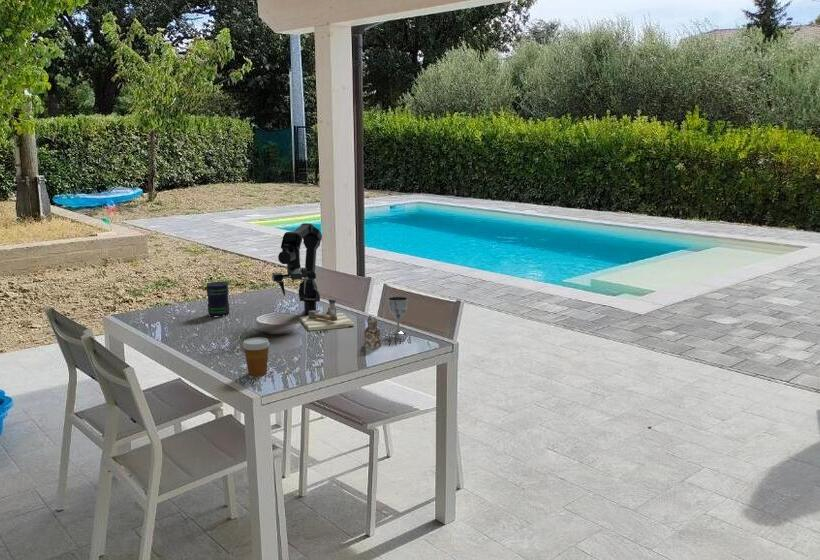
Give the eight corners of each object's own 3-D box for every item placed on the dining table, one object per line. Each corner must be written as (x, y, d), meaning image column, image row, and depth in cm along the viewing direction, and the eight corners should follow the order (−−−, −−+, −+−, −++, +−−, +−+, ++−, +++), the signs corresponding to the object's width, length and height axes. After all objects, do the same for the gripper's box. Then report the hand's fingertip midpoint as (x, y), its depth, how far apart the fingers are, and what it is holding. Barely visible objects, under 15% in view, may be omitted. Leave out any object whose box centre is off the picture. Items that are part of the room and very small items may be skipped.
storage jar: (211, 318, 349) (209, 286, 346) (205, 314, 358) (203, 283, 355) (232, 315, 354) (230, 284, 351) (226, 311, 362) (224, 280, 360)
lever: (307, 317, 342) (306, 296, 340) (312, 315, 344) (312, 294, 342) (332, 322, 331) (331, 301, 329) (338, 321, 334) (337, 299, 332)
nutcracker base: (300, 320, 344) (299, 308, 343) (342, 316, 351) (342, 304, 350) (309, 330, 326) (308, 318, 325) (354, 326, 332) (353, 314, 331)
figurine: (364, 348, 298) (363, 319, 296) (362, 344, 305) (361, 315, 303) (382, 347, 299) (381, 318, 297) (379, 342, 306) (379, 314, 304)
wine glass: (408, 330, 325) (408, 296, 322) (406, 335, 317) (406, 300, 314) (390, 330, 325) (389, 296, 323) (387, 335, 318) (387, 300, 315)
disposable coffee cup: (238, 376, 267) (236, 343, 264) (253, 368, 275) (251, 336, 273) (262, 378, 263) (260, 345, 261) (276, 370, 272) (274, 338, 270)
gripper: (275, 264, 323) (276, 300, 326) (318, 261, 329) (319, 296, 332) (271, 260, 333) (272, 295, 336) (312, 258, 339) (313, 292, 342)
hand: (294, 295), depth 336 cm, fingers open, 9 cm apart
